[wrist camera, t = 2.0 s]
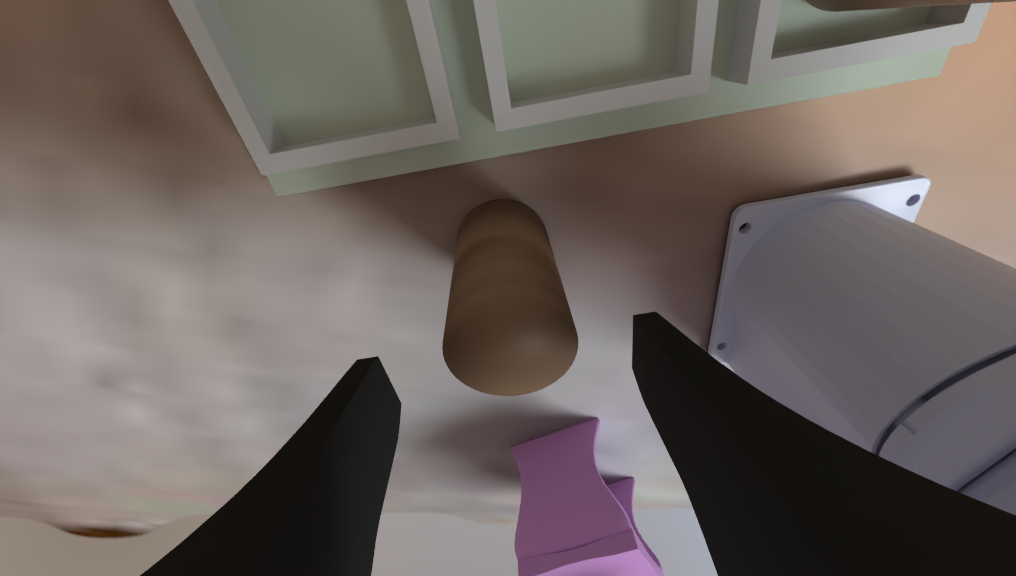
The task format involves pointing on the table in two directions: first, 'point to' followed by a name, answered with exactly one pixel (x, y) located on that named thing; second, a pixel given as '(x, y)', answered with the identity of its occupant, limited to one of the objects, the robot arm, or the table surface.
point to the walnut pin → (507, 304)
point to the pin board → (533, 71)
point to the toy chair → (575, 511)
